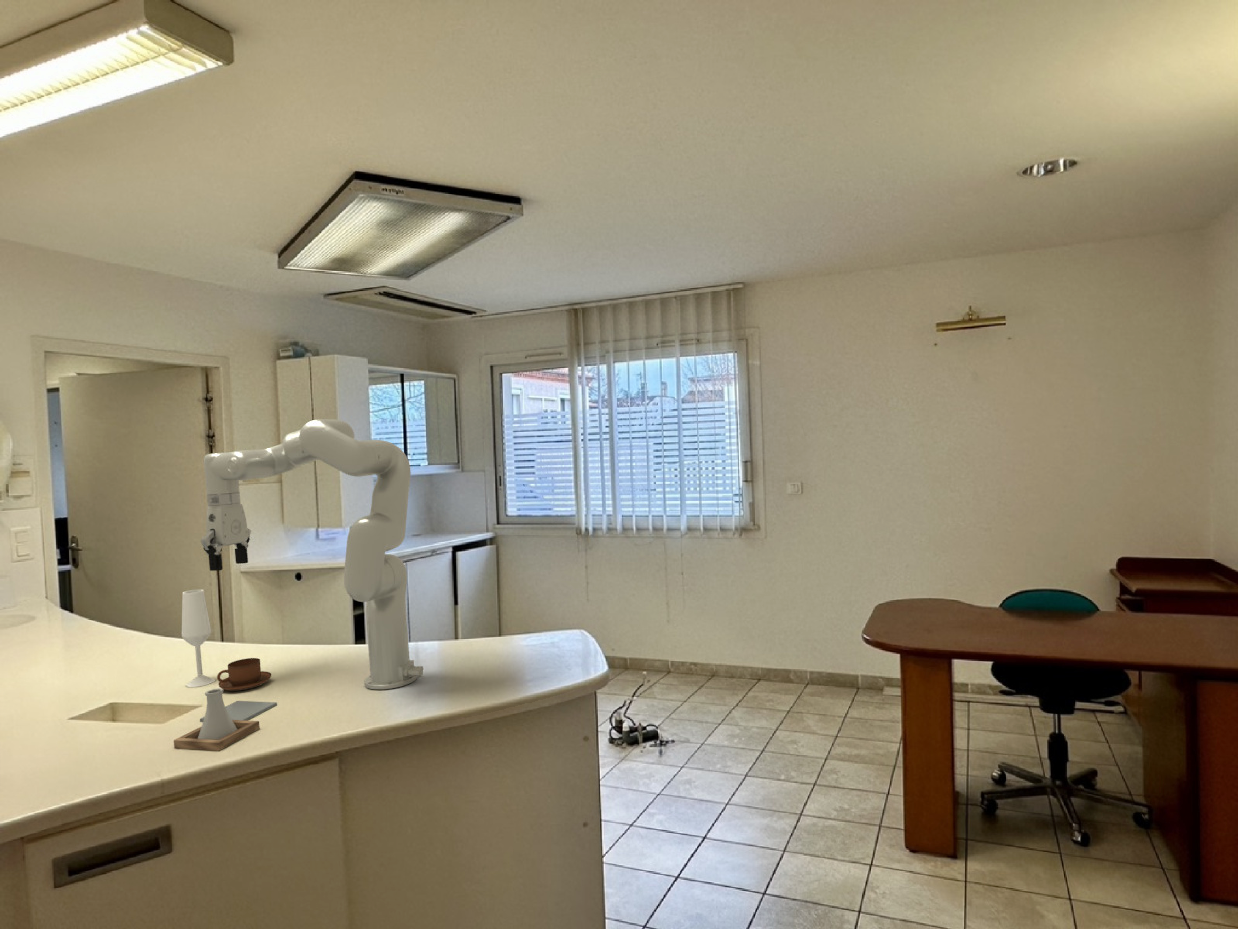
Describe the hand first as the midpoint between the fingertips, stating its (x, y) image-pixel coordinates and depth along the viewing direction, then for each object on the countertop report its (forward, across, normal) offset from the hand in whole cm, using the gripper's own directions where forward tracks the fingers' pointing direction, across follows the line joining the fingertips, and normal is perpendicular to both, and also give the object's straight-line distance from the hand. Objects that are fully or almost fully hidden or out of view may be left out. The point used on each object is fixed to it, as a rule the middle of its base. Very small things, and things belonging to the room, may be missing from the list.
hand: (229, 566), depth 189 cm
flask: (+30, -35, -21) cm, 51 cm away
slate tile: (+30, -22, -16) cm, 40 cm away
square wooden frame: (+30, -35, -21) cm, 51 cm away
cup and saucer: (+30, -3, -4) cm, 31 cm away
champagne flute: (+30, -1, +10) cm, 32 cm away
